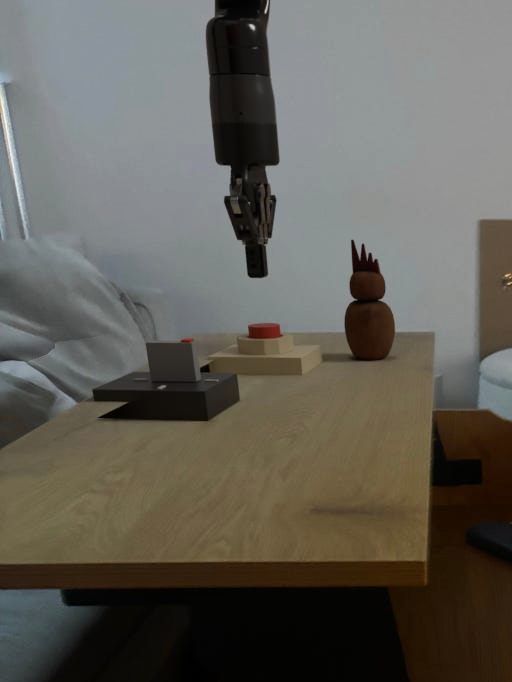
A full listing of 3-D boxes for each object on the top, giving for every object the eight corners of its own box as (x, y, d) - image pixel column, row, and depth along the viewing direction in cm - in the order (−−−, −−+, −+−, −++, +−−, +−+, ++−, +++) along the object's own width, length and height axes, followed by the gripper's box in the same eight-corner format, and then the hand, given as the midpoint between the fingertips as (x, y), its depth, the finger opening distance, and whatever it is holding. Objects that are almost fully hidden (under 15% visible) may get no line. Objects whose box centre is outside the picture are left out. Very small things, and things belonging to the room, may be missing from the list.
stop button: (245, 341, 125) (243, 327, 124) (254, 336, 129) (253, 322, 128) (275, 341, 125) (274, 327, 124) (284, 337, 128) (283, 323, 127)
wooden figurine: (338, 358, 134) (330, 240, 128) (370, 352, 138) (364, 237, 132) (371, 364, 130) (365, 242, 124) (403, 358, 134) (399, 239, 128)
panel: (96, 418, 102) (91, 387, 101) (137, 398, 111) (132, 370, 110) (208, 420, 101) (204, 389, 100) (240, 400, 110) (237, 371, 109)
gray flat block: (150, 381, 104) (144, 340, 102) (156, 378, 105) (150, 338, 104) (196, 382, 104) (191, 340, 102) (201, 379, 105) (196, 338, 103)
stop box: (209, 374, 124) (205, 341, 123) (236, 360, 133) (232, 330, 132) (302, 375, 123) (299, 342, 121) (322, 361, 132) (320, 330, 130)
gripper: (257, 117, 109) (271, 282, 117) (291, 123, 121) (302, 273, 129) (192, 117, 110) (210, 282, 117) (232, 124, 122) (246, 272, 129)
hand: (258, 277), depth 123 cm, fingers closed
